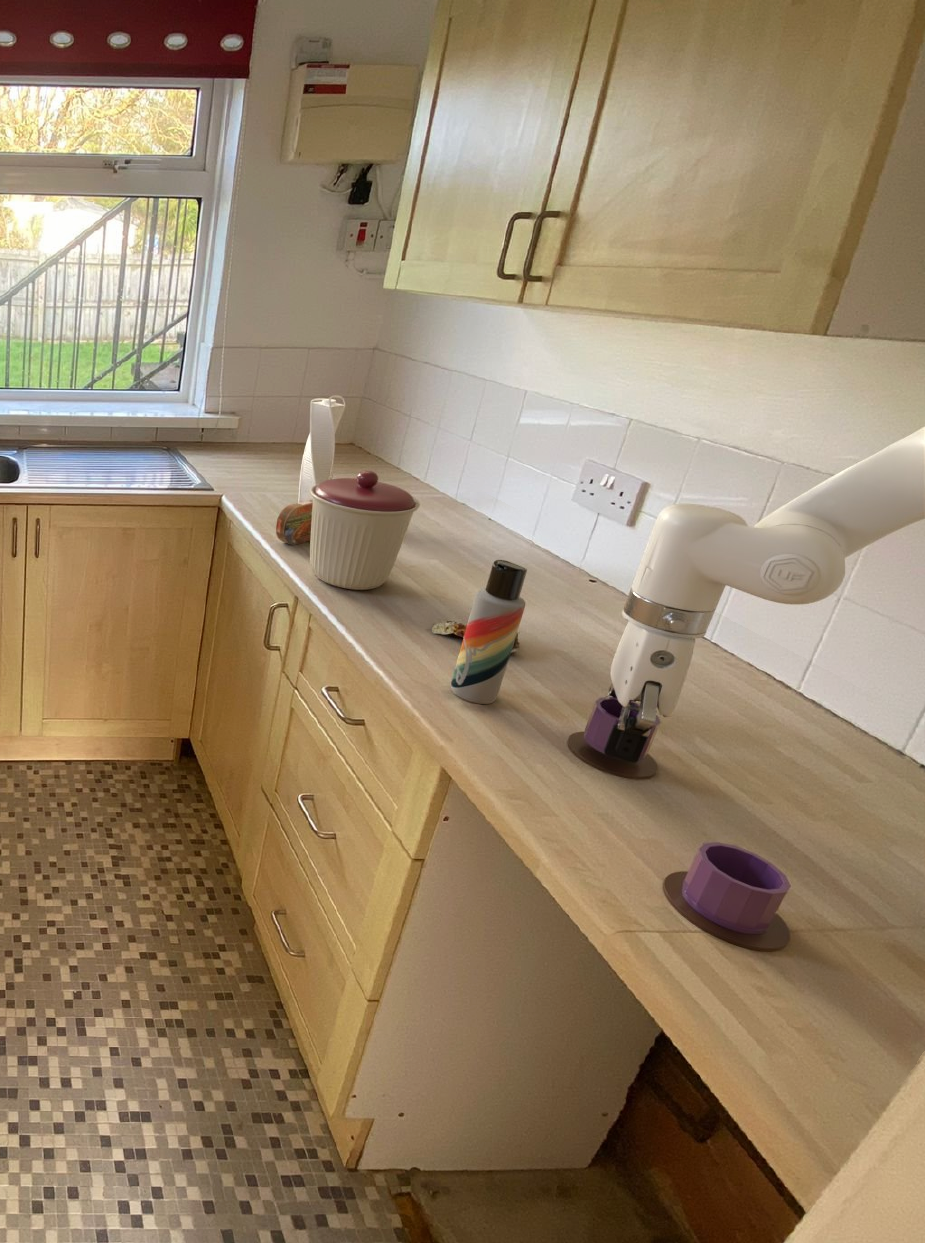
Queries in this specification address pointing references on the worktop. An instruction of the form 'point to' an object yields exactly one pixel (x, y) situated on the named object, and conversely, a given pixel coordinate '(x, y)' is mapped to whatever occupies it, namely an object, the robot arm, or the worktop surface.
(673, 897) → the coaster front
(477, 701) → the lotion bottle
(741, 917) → the ramekin
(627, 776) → the coaster back
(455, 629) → the pastry
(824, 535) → the robot arm
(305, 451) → the skyscraper
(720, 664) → the worktop surface
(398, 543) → the canister
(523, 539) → the worktop surface
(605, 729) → the ramekin
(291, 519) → the tin
